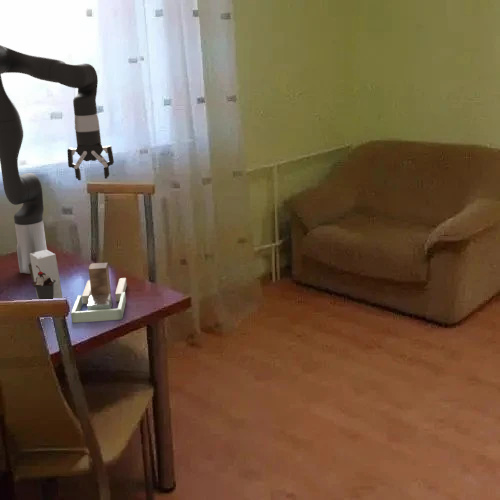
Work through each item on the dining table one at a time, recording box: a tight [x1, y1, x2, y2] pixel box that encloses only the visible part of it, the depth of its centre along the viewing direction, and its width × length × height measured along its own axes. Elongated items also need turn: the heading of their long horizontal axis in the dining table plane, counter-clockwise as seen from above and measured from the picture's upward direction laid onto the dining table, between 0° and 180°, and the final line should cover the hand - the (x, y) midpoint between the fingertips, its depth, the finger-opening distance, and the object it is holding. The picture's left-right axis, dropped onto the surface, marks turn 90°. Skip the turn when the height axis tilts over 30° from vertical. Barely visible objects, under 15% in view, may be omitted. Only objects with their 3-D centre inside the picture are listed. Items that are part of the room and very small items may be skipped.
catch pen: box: [70, 291, 127, 324], centre depth 222 cm, size 14×14×3 cm
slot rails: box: [81, 277, 128, 305], centre depth 236 cm, size 12×14×2 cm
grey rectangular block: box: [86, 299, 112, 311], centre depth 220 cm, size 6×4×4 cm, turn 93°
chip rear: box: [88, 293, 113, 309], centre depth 224 cm, size 6×4×4 cm, turn 93°
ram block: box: [88, 262, 113, 302], centre depth 227 cm, size 5×5×12 cm
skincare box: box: [30, 249, 64, 300], centre depth 232 cm, size 8×6×15 cm
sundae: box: [31, 265, 56, 300], centre depth 220 cm, size 7×7×15 cm
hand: (92, 179), depth 247 cm, fingers open, 8 cm apart
